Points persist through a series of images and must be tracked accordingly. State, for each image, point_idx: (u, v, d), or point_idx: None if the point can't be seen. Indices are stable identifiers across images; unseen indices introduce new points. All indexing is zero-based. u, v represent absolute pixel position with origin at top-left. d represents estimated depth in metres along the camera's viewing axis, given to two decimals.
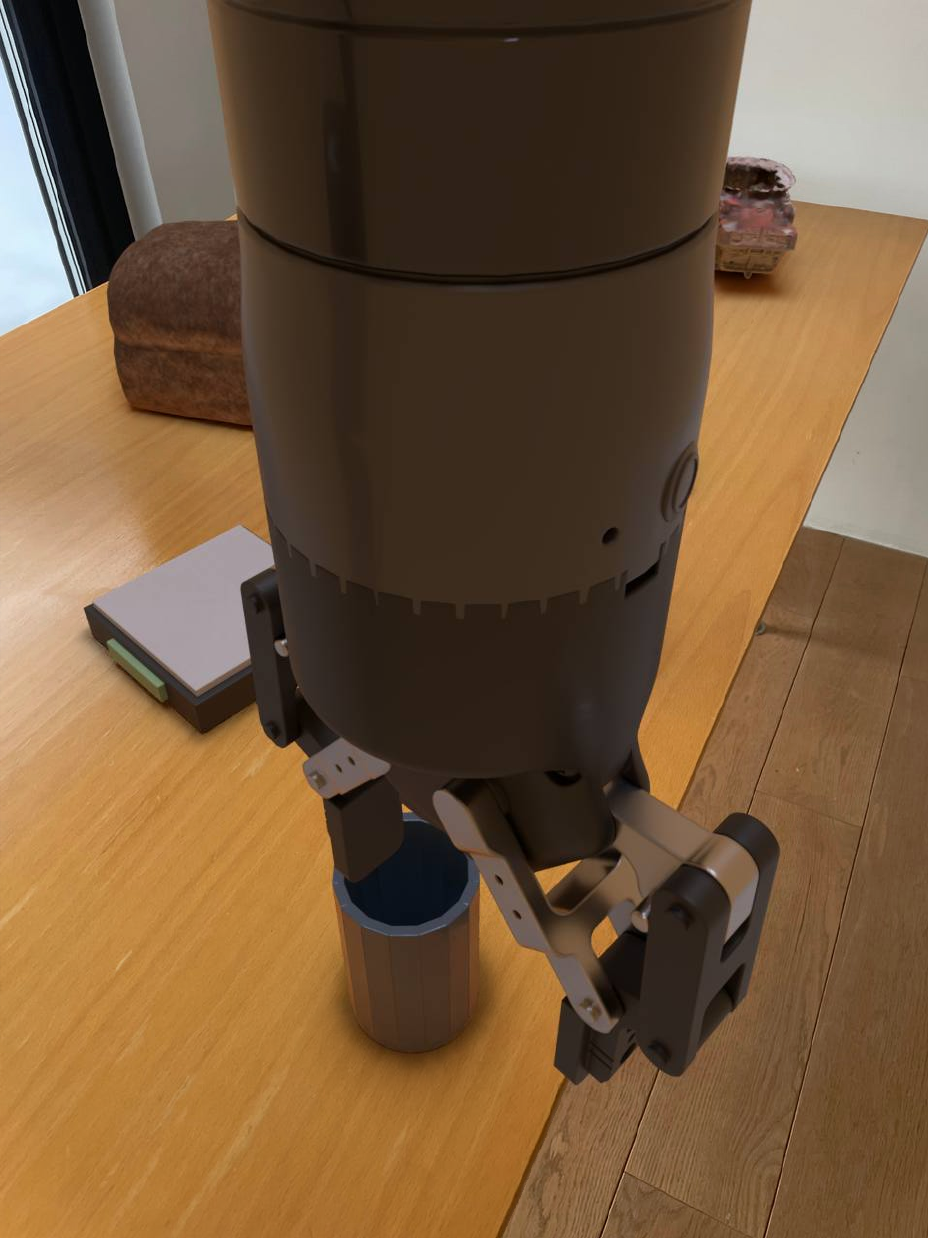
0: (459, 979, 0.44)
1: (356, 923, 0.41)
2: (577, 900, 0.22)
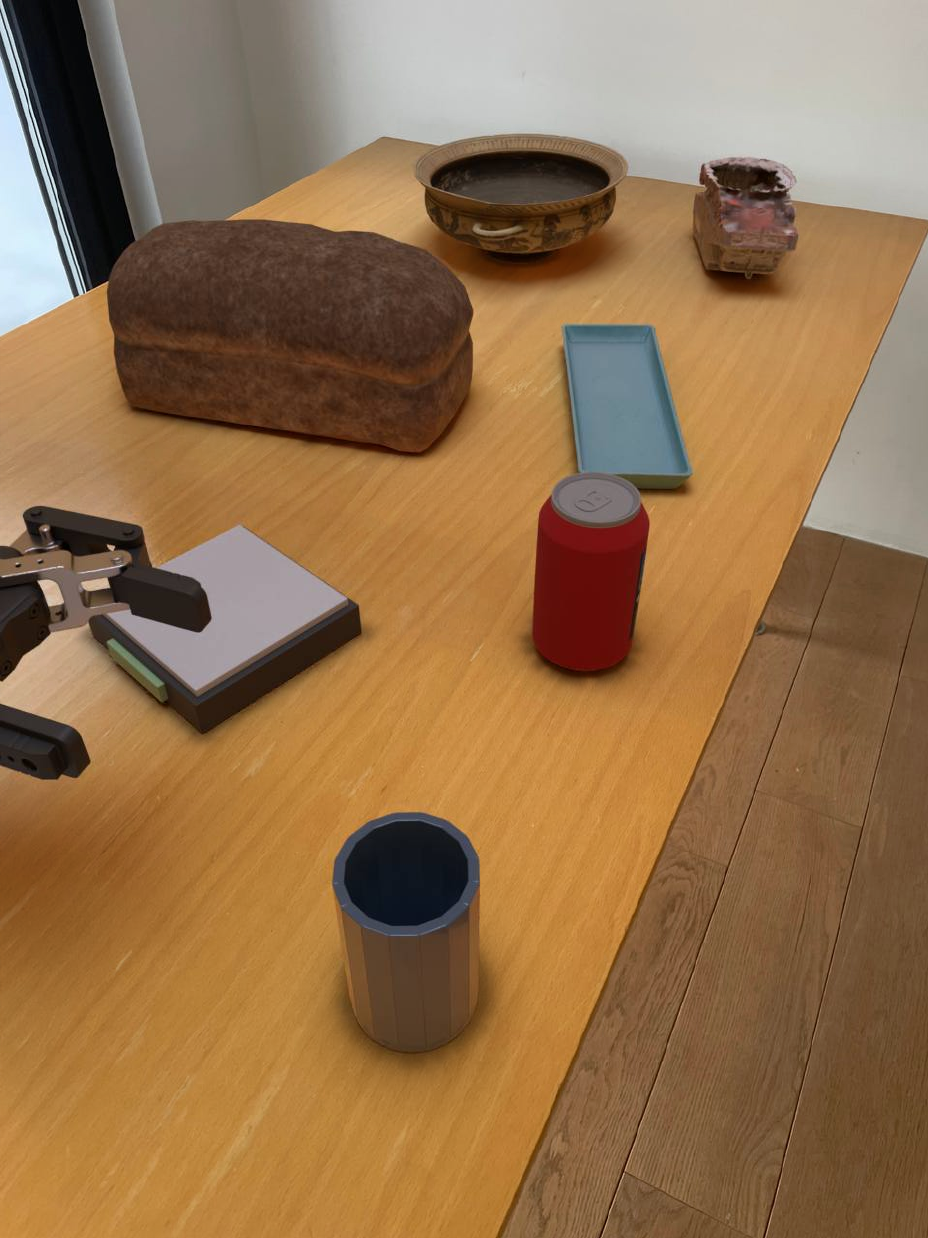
0: (459, 979, 0.44)
1: (356, 923, 0.41)
2: None
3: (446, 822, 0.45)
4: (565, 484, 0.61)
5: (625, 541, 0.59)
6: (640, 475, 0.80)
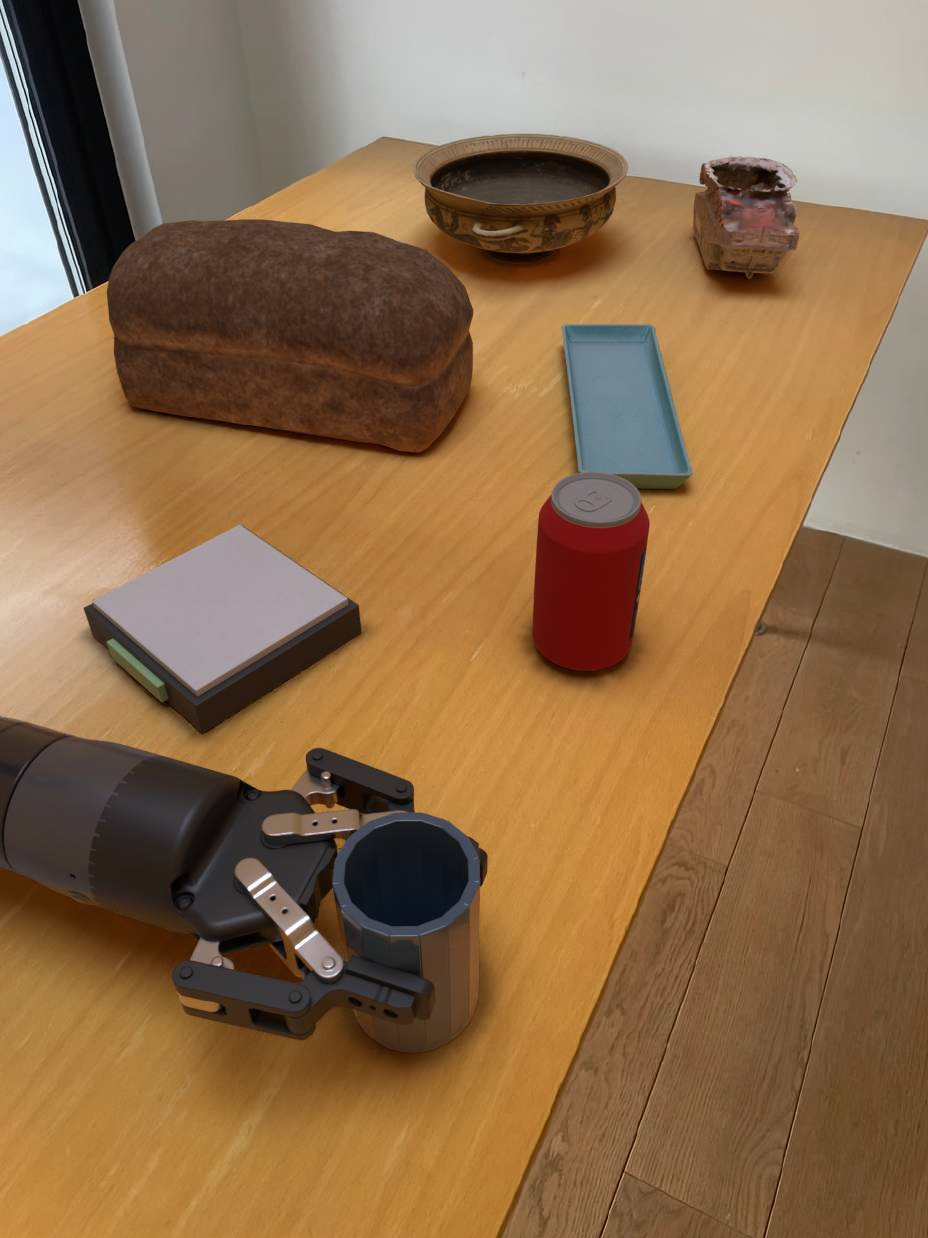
0: (459, 979, 0.44)
1: (356, 923, 0.41)
2: None
3: (446, 822, 0.45)
4: (565, 484, 0.61)
5: (625, 541, 0.59)
6: (640, 475, 0.80)
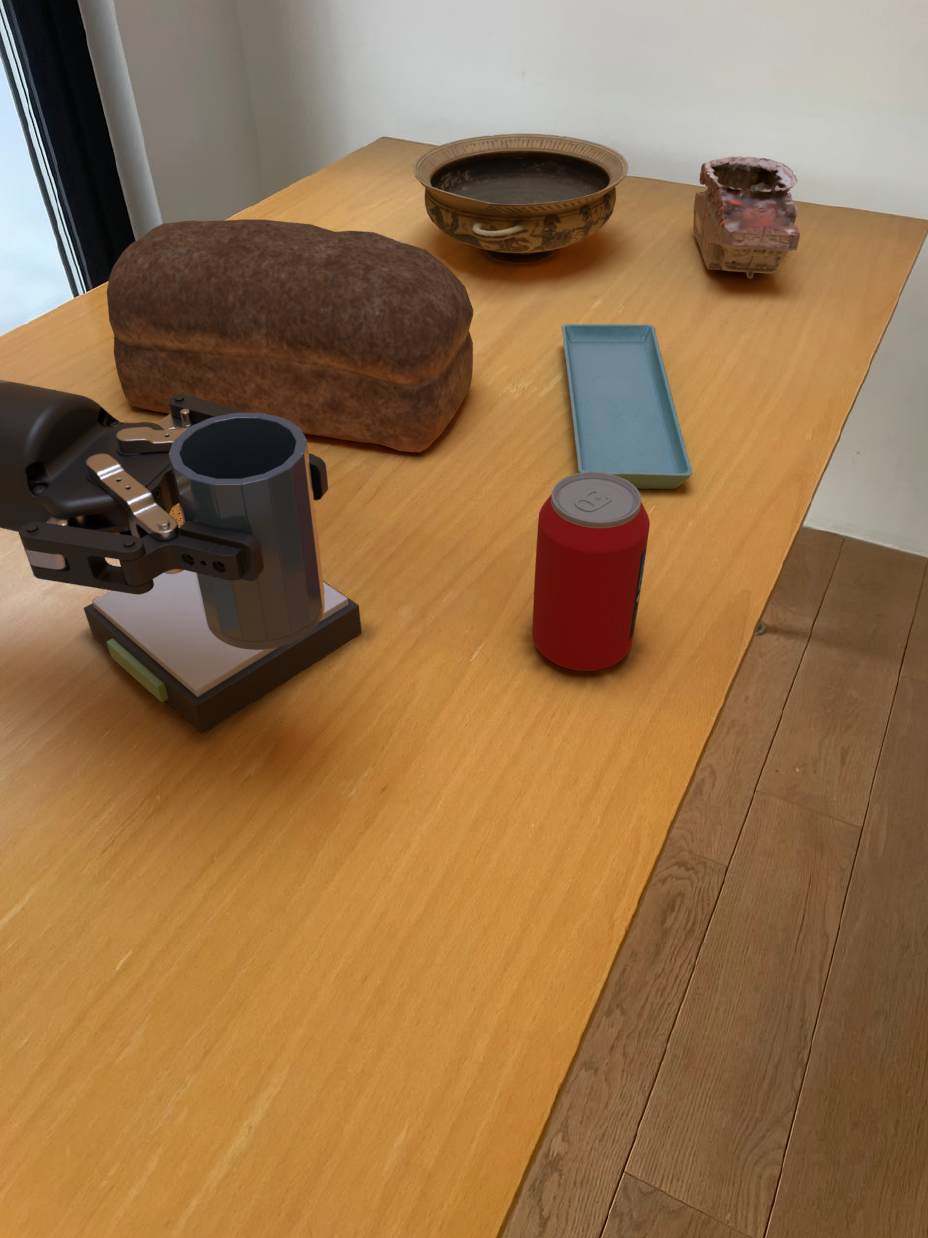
0: (292, 561, 0.48)
1: (185, 478, 0.45)
2: None
3: (281, 418, 0.48)
4: (565, 484, 0.61)
5: (625, 541, 0.59)
6: (640, 475, 0.80)
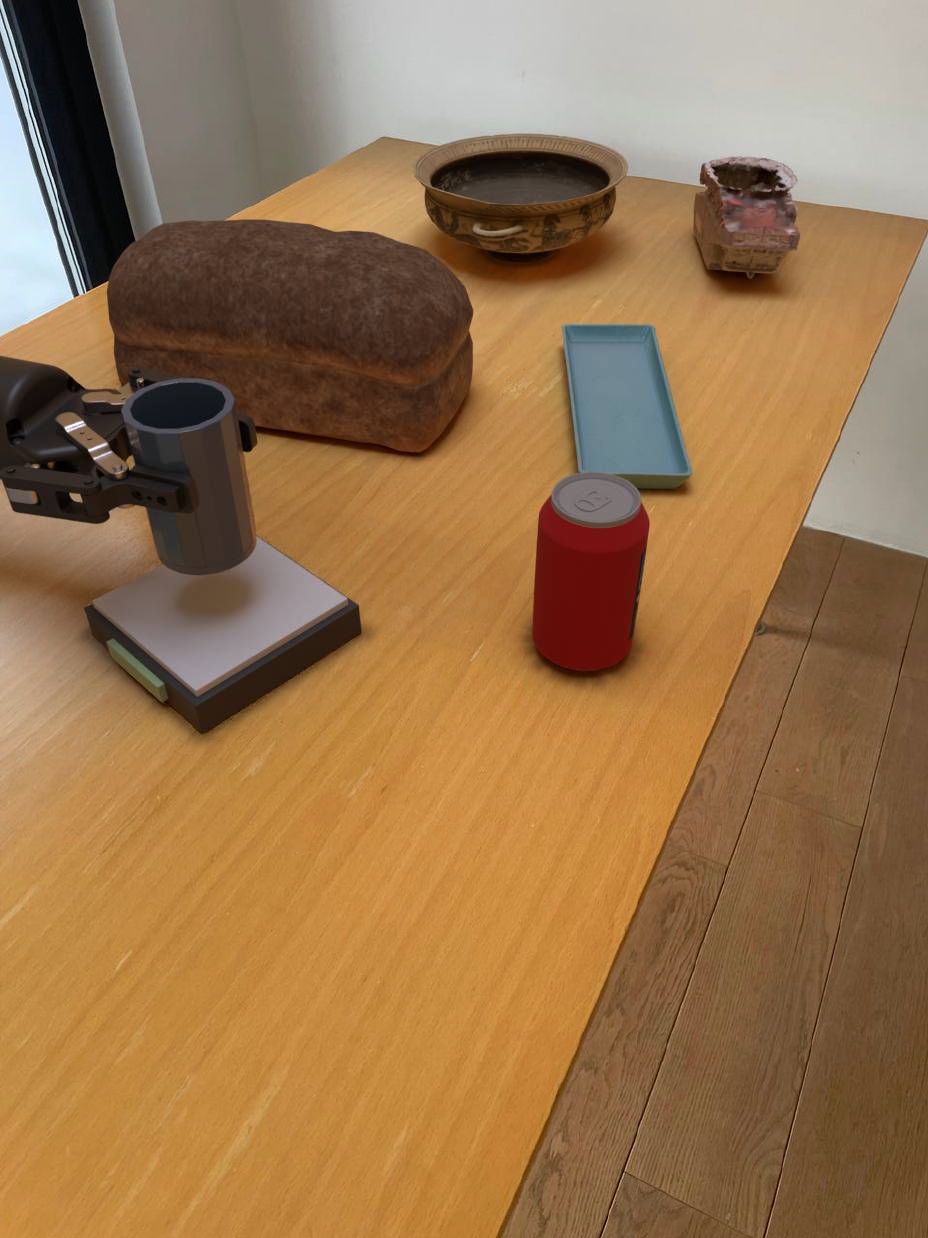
0: (224, 499, 0.59)
1: (134, 428, 0.55)
2: None
3: (215, 382, 0.59)
4: (565, 484, 0.61)
5: (625, 541, 0.59)
6: (640, 475, 0.80)
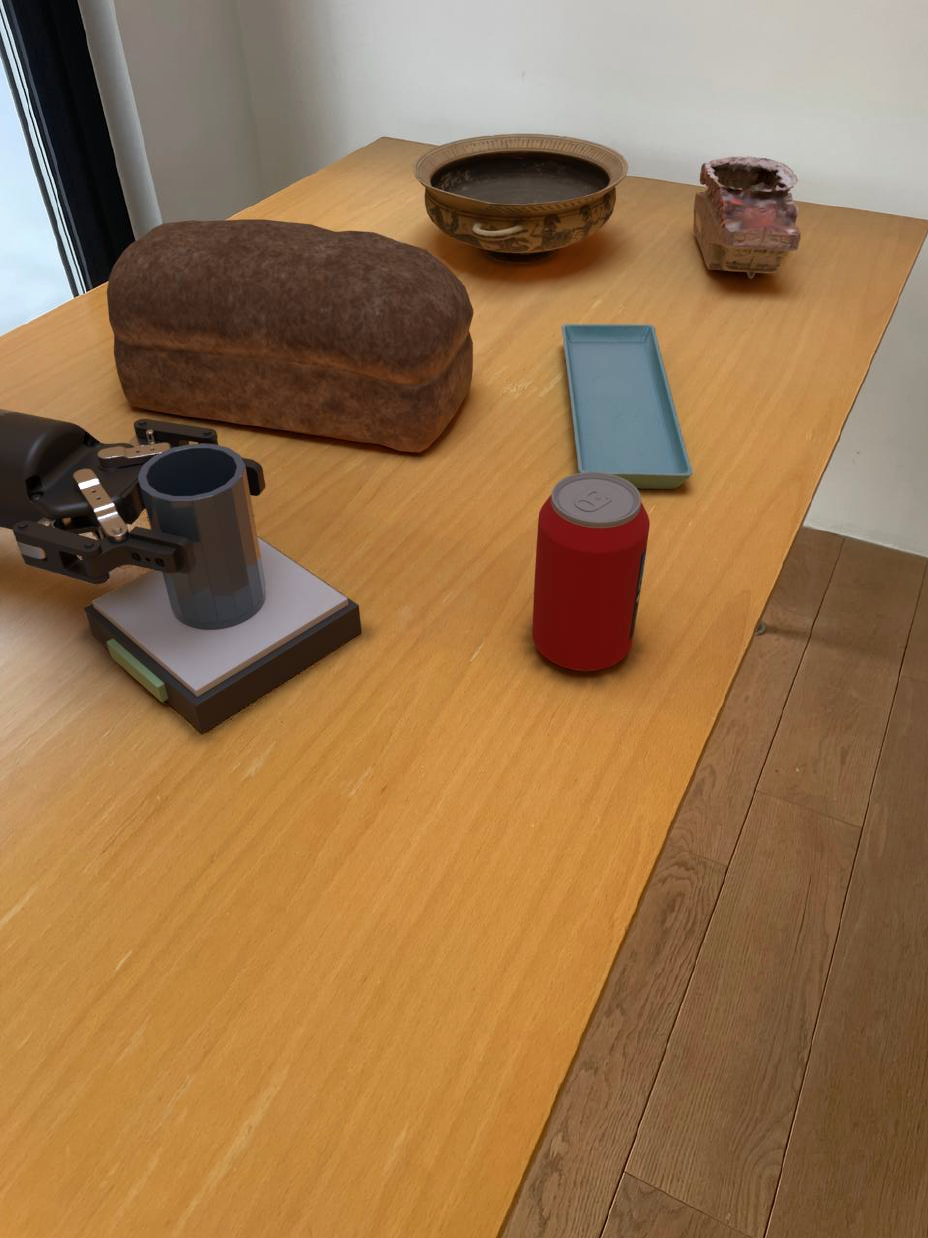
0: (235, 559, 0.62)
1: (150, 495, 0.58)
2: None
3: (227, 448, 0.62)
4: (565, 484, 0.61)
5: (625, 541, 0.59)
6: (640, 475, 0.80)
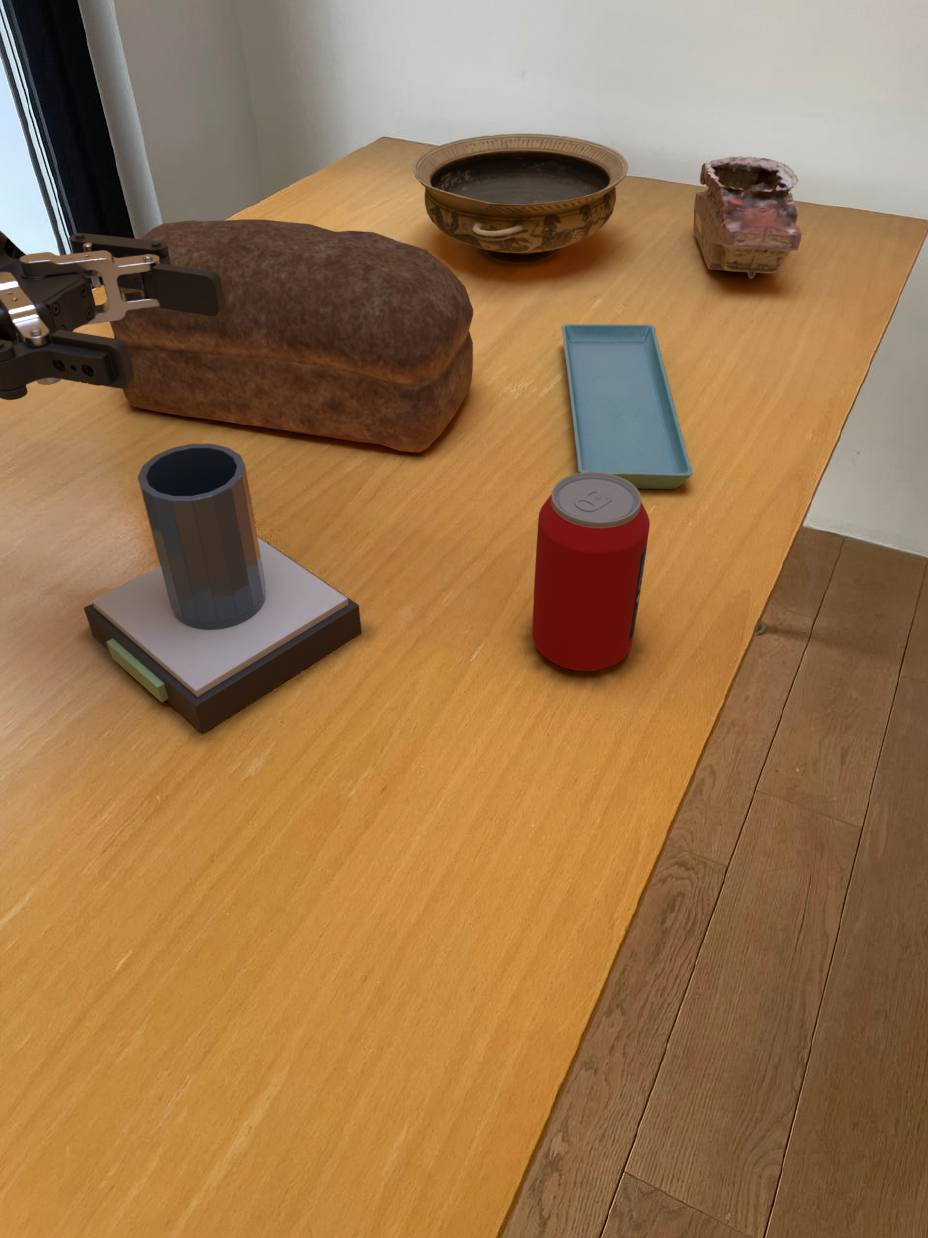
0: (235, 559, 0.62)
1: (150, 495, 0.58)
2: None
3: (227, 448, 0.62)
4: (565, 484, 0.61)
5: (624, 541, 0.59)
6: (640, 475, 0.80)
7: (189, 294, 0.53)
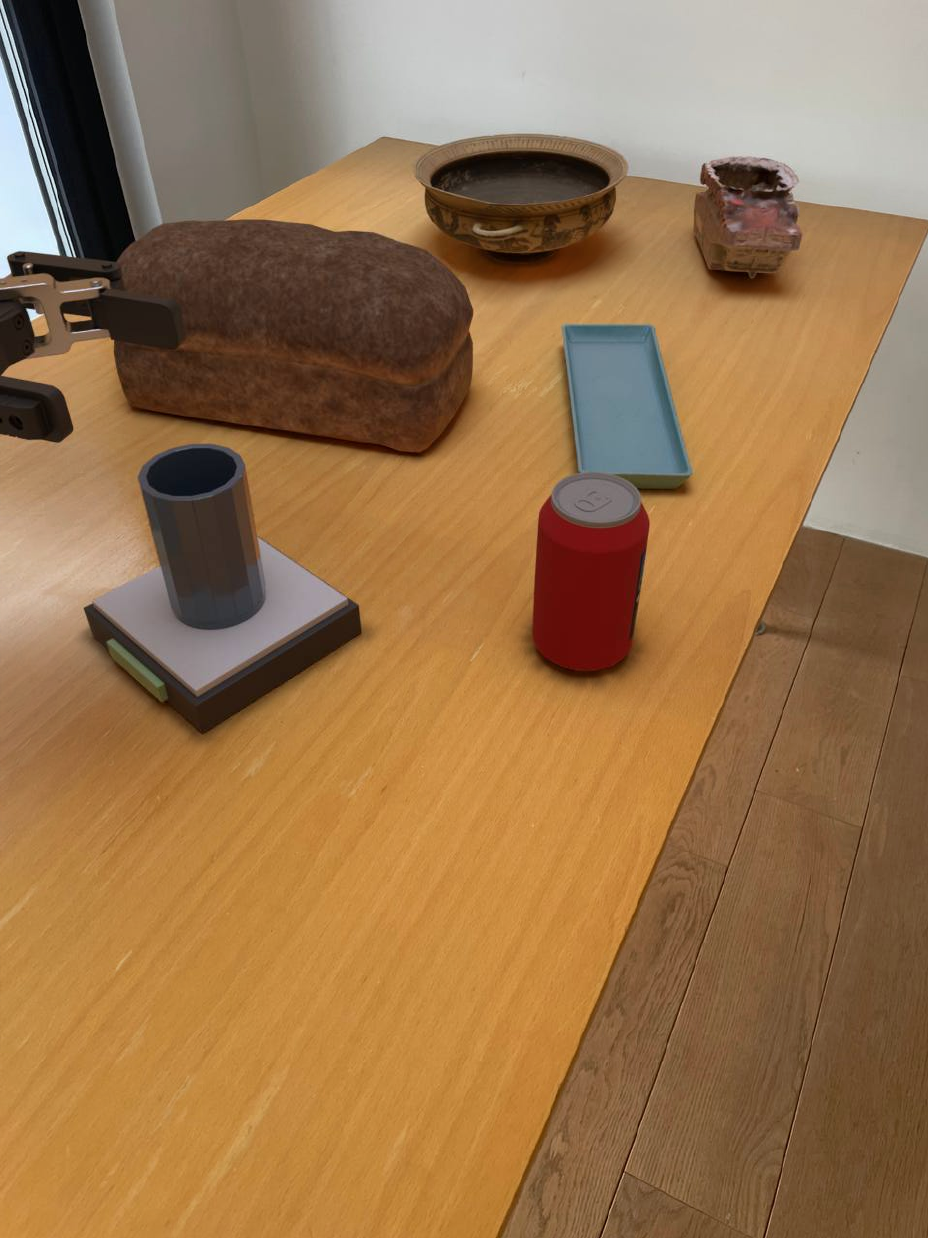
0: (235, 559, 0.62)
1: (150, 495, 0.58)
2: None
3: (227, 448, 0.62)
4: (565, 484, 0.61)
5: (625, 541, 0.59)
6: (640, 475, 0.80)
7: (144, 325, 0.46)
